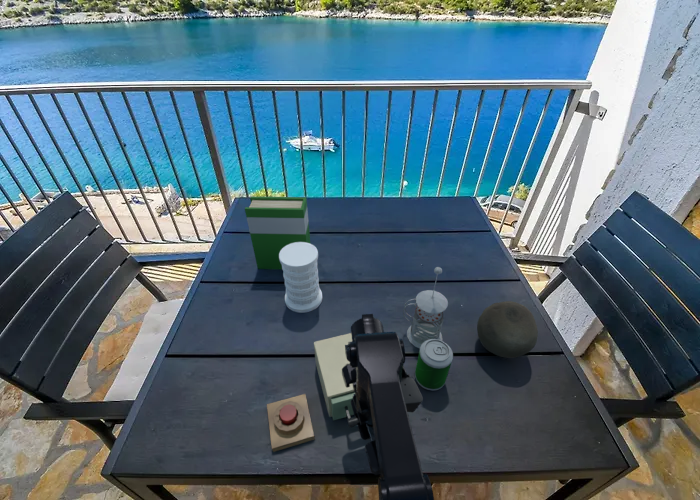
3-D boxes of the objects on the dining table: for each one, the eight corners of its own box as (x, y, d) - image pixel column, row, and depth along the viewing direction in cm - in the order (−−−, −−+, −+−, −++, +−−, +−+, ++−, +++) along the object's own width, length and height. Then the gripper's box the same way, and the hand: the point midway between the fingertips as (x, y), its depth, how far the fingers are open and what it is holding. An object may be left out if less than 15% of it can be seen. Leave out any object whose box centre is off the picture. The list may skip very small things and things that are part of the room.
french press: (440, 354, 92) (458, 286, 77) (397, 342, 95) (406, 275, 80) (444, 326, 100) (461, 259, 84) (404, 316, 102) (414, 250, 87)
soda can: (447, 393, 84) (457, 364, 76) (416, 392, 84) (423, 363, 76) (441, 365, 90) (450, 336, 82) (412, 365, 90) (418, 336, 82)
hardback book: (257, 268, 119) (244, 208, 104) (262, 255, 125) (250, 196, 110) (309, 269, 119) (303, 209, 104) (311, 256, 124) (306, 197, 110)
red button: (298, 422, 75) (297, 418, 74) (281, 426, 74) (280, 423, 73) (295, 406, 78) (294, 402, 77) (279, 411, 77) (278, 407, 76)
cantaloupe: (463, 353, 92) (476, 316, 83) (480, 319, 102) (494, 282, 92) (519, 381, 86) (539, 344, 77) (531, 342, 95) (551, 304, 86)
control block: (314, 439, 75) (313, 432, 73) (272, 452, 73) (270, 445, 71) (305, 397, 83) (304, 389, 81) (267, 407, 81) (265, 400, 79)
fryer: (381, 402, 82) (383, 381, 76) (329, 417, 79) (327, 396, 73) (362, 351, 93) (362, 330, 87) (315, 363, 90) (313, 341, 84)
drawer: (388, 425, 77) (390, 408, 72) (338, 440, 74) (337, 424, 70) (362, 358, 90) (363, 340, 86) (320, 369, 88) (318, 351, 83)
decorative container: (316, 315, 103) (312, 270, 92) (279, 309, 105) (270, 263, 94) (326, 288, 112) (324, 244, 100) (292, 283, 114) (286, 238, 102)
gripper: (446, 431, 51) (431, 471, 61) (398, 332, 65) (391, 377, 75) (375, 454, 49) (370, 492, 58) (340, 346, 62) (341, 391, 72)
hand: (370, 431), depth 66 cm, fingers closed
